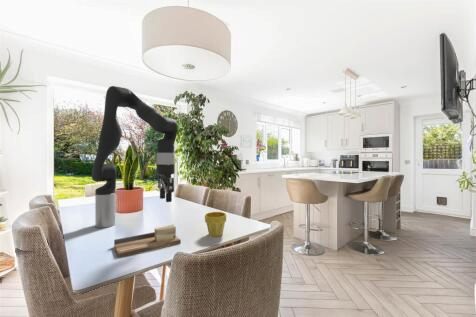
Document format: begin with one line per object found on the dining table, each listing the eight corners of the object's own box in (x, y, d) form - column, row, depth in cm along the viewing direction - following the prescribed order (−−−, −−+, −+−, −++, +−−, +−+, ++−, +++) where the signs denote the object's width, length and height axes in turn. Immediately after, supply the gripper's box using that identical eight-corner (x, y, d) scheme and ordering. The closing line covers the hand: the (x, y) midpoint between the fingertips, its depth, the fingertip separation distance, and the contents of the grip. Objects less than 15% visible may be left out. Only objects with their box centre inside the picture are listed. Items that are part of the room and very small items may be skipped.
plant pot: (200, 236, 106) (200, 215, 106) (211, 229, 116) (211, 210, 115) (219, 239, 102) (219, 218, 102) (229, 232, 111) (229, 212, 111)
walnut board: (114, 246, 93) (114, 239, 93) (171, 235, 107) (171, 228, 107) (118, 257, 83) (118, 249, 83) (180, 243, 97) (180, 236, 97)
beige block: (154, 239, 98) (154, 227, 98) (172, 235, 102) (172, 224, 102) (157, 242, 94) (157, 230, 94) (176, 238, 99) (176, 227, 99)
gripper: (152, 162, 102) (152, 198, 102) (162, 164, 90) (161, 204, 90) (168, 162, 106) (168, 196, 106) (180, 163, 95) (179, 202, 95)
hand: (165, 200), depth 98 cm, fingers open, 8 cm apart
